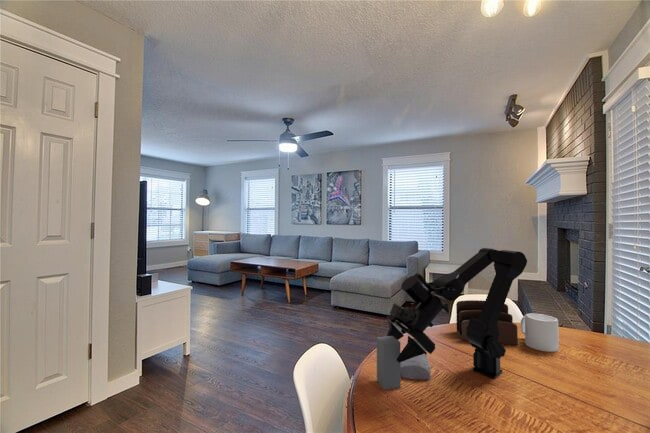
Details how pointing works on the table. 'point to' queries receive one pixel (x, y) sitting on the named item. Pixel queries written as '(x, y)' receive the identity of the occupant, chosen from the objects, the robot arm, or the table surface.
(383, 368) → the pillar
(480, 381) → the table surface
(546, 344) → the mug
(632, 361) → the table surface
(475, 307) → the letter holder
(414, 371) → the stone block
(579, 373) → the table surface
